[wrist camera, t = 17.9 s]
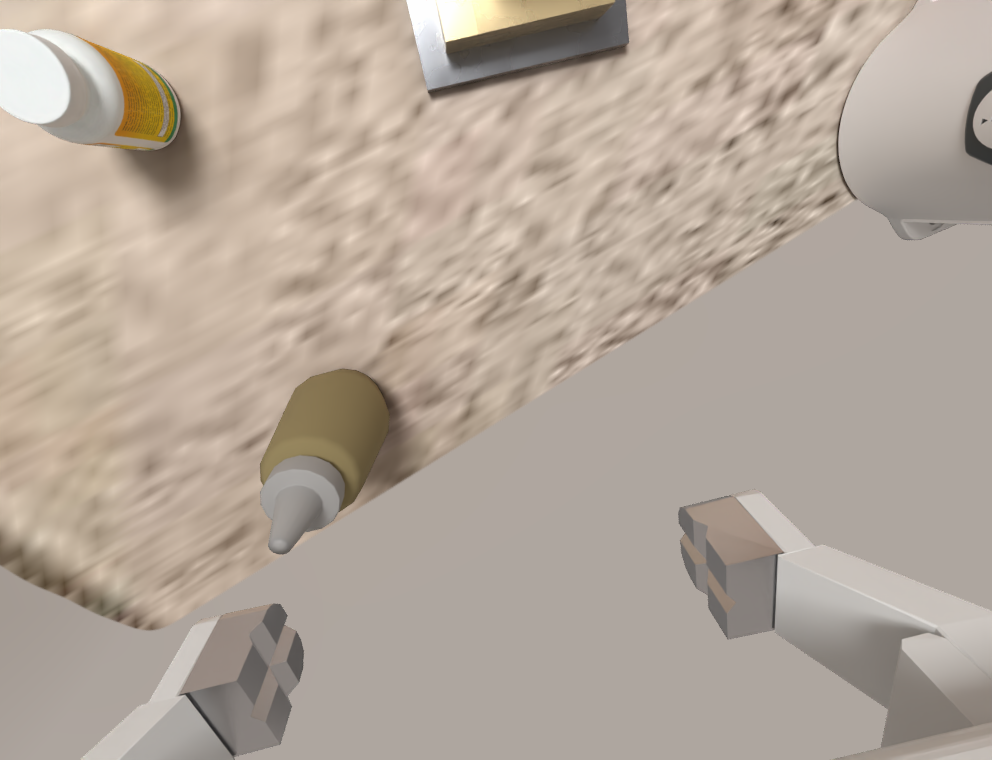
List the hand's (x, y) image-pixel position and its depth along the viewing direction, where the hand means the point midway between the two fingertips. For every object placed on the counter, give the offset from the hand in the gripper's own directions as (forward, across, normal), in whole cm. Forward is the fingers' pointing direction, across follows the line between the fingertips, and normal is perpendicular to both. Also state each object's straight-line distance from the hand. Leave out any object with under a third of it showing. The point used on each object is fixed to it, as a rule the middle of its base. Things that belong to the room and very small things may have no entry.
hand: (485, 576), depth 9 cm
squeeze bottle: (+31, +12, +8) cm, 34 cm away
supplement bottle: (+31, +18, -16) cm, 40 cm away
